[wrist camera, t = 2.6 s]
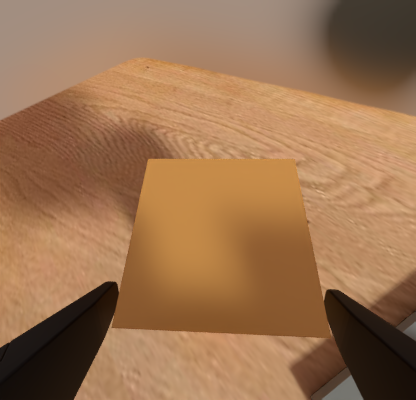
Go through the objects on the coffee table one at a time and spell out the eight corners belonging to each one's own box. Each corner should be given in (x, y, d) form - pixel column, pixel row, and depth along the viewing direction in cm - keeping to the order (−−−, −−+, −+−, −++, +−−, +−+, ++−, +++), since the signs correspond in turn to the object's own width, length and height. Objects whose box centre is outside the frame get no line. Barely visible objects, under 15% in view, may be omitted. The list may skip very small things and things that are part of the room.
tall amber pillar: (253, 315, 16) (331, 338, 5) (182, 312, 16) (111, 327, 5) (249, 244, 18) (294, 159, 8) (188, 242, 18) (148, 158, 8)
